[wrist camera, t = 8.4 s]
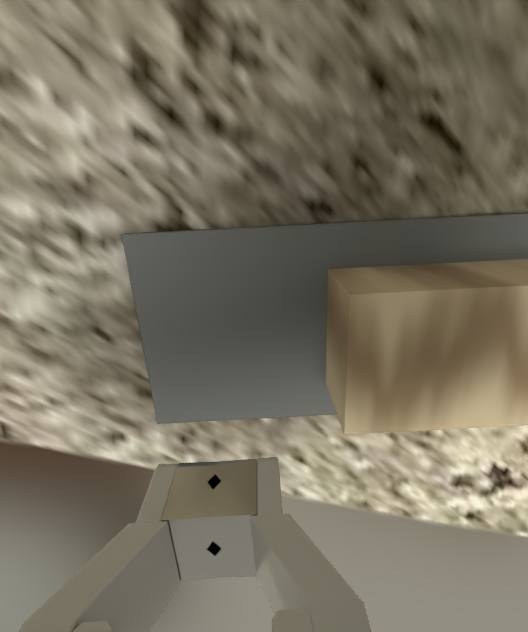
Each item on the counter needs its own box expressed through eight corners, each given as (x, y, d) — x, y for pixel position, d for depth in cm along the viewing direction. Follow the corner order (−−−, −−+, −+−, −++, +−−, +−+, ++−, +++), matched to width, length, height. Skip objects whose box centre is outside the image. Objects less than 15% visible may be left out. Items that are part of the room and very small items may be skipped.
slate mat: (125, 233, 16) (121, 234, 15) (700, 203, 16) (714, 204, 15) (159, 418, 19) (157, 423, 19) (629, 393, 19) (638, 398, 19)
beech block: (350, 294, 12) (693, 276, 12) (327, 269, 16) (590, 255, 16) (344, 434, 14) (637, 419, 14) (325, 382, 18) (557, 370, 18)
